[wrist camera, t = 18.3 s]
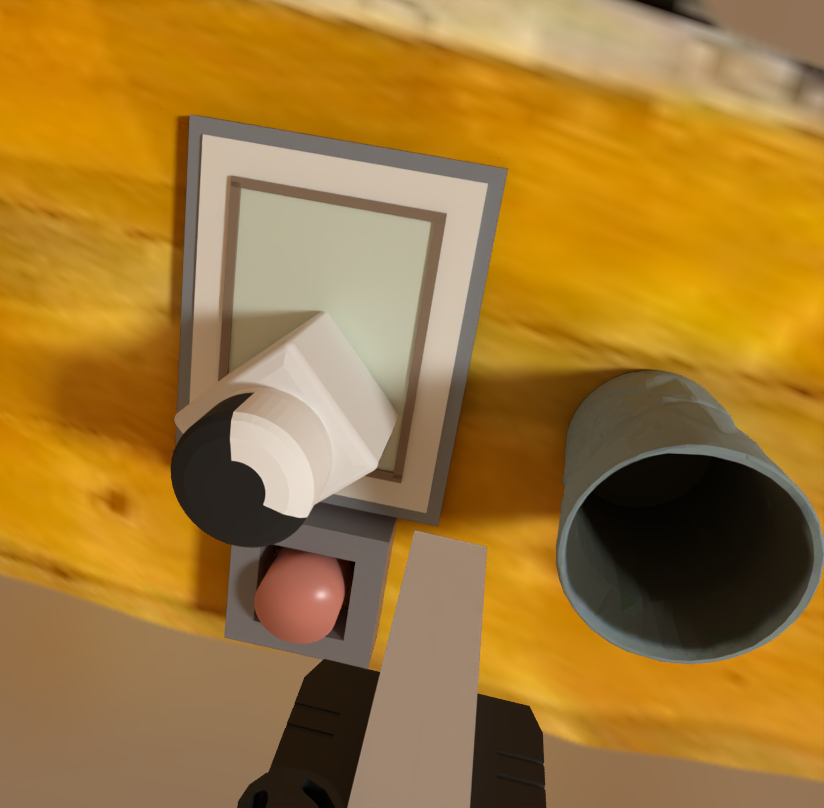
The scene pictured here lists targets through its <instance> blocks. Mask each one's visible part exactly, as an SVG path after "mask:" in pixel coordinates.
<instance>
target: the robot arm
mask: <svg viewBox="0 0 824 808" xmlns="http://www.w3.org/2000/svg"><path fill="white" fill-rule="evenodd" d="M486 554H487V547H486V546H481V545H477V544H472V543H468V542H464V541H459V540H455V539H451V538H446V537H442V536H438V535H433V534H429V533H425V532H420V531H416V530H415V532H414V536H413V540H412V545H411V549H410V553H409V557H408V561H407V565H406V569H405V573H404V577H403V581H402V586H401V590H400V594H399V598H398V602H397V606H396V610H395V614H394V618H393V622H392V627H391V631H390V635H389V639H388V643H387V647H386V651H385V655H384V659H383V663H382V668H381V672H378V671H373V670H369V669H365V668H361V667H357V666H353V665H349V664H344V663H340V662H336V661H332V660H328V659H324V660H322V661H321V662H320V663H319V664H318V665H317V666H316V667H315V668H314V669H313V670H312V671H311V672H310V673H309V674H307V675H306V676H305V677H304V680H303V683H302V685H301V688H300V691H299V693H298V696H297V698H296V701H295V705H294V707H293V709H292V712H291V714H290V717H289V719H288V722H287V726H286V728H285V730H284V733H283V736H282V738H281V741H280V743H279V746H278V749H277V751H276V754H275V757H274V759H273V762H272V765H271V767H270V770H269V772H268V773H265V774H264V775H263V776H261V777H260V778H258V779H257V780H255V781H254V782H253V783H251V784H250V785H249V786H248V787H247V789H246V790H245V792H244V794H243V795H242V797H241V798H240V799H239V801H238V807H237V808H546V794H545V790H544V786H545V772H544V766H543V763H544V753H543V733H542V731H541V729H540V727H539V725H538V722H537V720H536V718H535V716H534V714H533V712H532V710H531V708H530V706H527V705H523V704H519V703H515V702H510V701H506V700H502V699H498V698H494V697H490V696H486V695H481V694H477V691H478V676H479V661H480V645H481V630H482V615H483V599H484V584H485V569H486Z"/></svg>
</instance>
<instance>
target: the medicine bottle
mask: <svg viewBox="0 0 824 808" xmlns="http://www.w3.org/2000/svg"><path fill="white" fill-rule="evenodd" d="M398 417H399V416H398V414H397V412H396V410H395V409H394V407H393V406H392V405H391V403H390V402H389V400H388V399H387V397H386V396H385V394H384V393H383V392H382V390H381V389H380V387H379V386H378V384H377V383H376V381H375V380H374V378H373V377H372V376H371V374H370V373H369V371H368V370H367V368H366V367H365V365H364V364H363V363H362V361H361V360H360V358H359V357H358V355H357V354H356V352H355V351H354V350H353V348H352V347H351V345H350V344H349V342H348V341H347V339H346V338H345V337H344V335H343V334H342V332H341V331H340V329H339V328H338V326H337V325H336V323H335V322H334V321H333V319H332V318H331V316H330V315H329V314H328V313H327V312H320V313H318V314H317V315H315V316H314V317H313V318H311V319H310V320H308V321H307V322H305V323H304V324H302V325H301V326H299V327H298V328H296V329H295V330H293V331H292V332H290V333H289V334H287V335H286V336H284V337H283V338H281V339H280V340H278V341H277V342H275V343H274V344H272V345H271V346H269V347H268V348H266V349H265V350H263V351H262V352H260V353H259V354H257V355H256V356H254V357H253V358H251V359H250V360H249V361H247V362H246V363H244V364H243V365H241V366H240V367H238V368H237V369H235V370H234V371H232V372H231V373H229V374H228V375H226V376H225V377H224V378H222V379H221V380H220V381H219V382H217V383H216V384H215V385H213V386H212V387H211V388H209V389H208V390H207V391H205V392H204V393H203V394H202V395H200V396H199V397H198V398H196V399H195V400H194V401H192V402H191V403H190V404H189V405H187V406H186V407H185V408H183V409H182V410H181V411H179V412H178V413H177V414H176V415H175V417H174V422H175V424H176V425H177V427H178V428H179V429H180V431H181V432H182V433H183V435H182V436H181V438H180V439H179V441H178V443H177V445H176V447H175V449H174V452H173V456H172V461H171V480H172V485H173V489H174V492H175V495H176V498H177V500H178V502H179V504H180V506H181V507H182V509H183V510H184V512H185V513H186V515H187V516H188V517H189V518H190V519H191V520H192V522H194V523H195V524H196V525H197V526H198V527H199V528H200V529H201V530H203V531H204V532H205V533H207V534H208V535H210V536H212V537H214V538H215V539H217V540H220V541H222V542H224V543H227V544H231V545H234V546H240V547H249V548H256V547H265V546H269V545H273V544H276V543H279V542H281V541H283V540H285V539H286V538H288V537H290V536H291V535H292V534H294V533H295V532H296V531H297V530H298V529H299V528H300V527H301V526H302V524H303V523H304V521H305V520H306V518H307V517H308V515H309V513H310V511H311V510H312V508H313V506H314V505H315V504H317V503H318V502H320V501H322V500H324V499H325V498H327V497H329V496H331V495H332V494H334V493H336V492H337V491H339V490H341V489H343V488H344V487H346V486H348V485H350V484H351V483H353V482H355V481H356V480H358V479H360V478H362V477H363V476H365V475H367V474H369V473H370V472H372V471H374V470H375V469H376V468H377V467H378V464H379V462H380V460H381V458H382V455H383V453H384V451H385V448H386V446H387V444H388V442H389V439H390V437H391V435H392V432H393V430H394V428H395V426H396V423H397V421H398Z"/></svg>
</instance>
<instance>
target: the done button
mask: <svg viewBox="0 0 824 808" xmlns="http://www.w3.org/2000/svg"><path fill="white" fill-rule="evenodd" d="M351 578H352V569H351V565H350V562H349V560H344V559H340V558H335V557H330V556H326V555H321V554H316V553H312V552H307V551H302V550H297V549H293V548H288V547H282V548H281V549H280V551H279V553H278V554H277V556H276V558H275V560H274V561H273V563H272V565H271V567H270V568H269V570H268V572H267V574H266V575H265V577H264V579H263V580H262V582H261V584H260V586H259V587H258V589H257V591H256V594H255V599H254V606H255V611H256V614H257V616H258V619H259V620H260V622H261V623H262V625H263V626H264V627H265V628H266V629H267V630H268V631H269V632H270V633H271V634H273V635H274V636H276V637H278V638H280V639H282V640H284V641H287V642H290V643H296V644H308V643H313V642H316V641H318V640H321V639H322V638H324V637H325V636H326V635H328V634H329V633H330V631H331V630H332V628H333V627H334V625H335V622H336V619H337V617H338V614H339V611H340V609H341V606H342V603H343V601H344V598H345V595H346V593H347V590H348V587H349V585H350V582H351Z"/></svg>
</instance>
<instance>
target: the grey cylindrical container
mask: <svg viewBox="0 0 824 808" xmlns="http://www.w3.org/2000/svg"><path fill="white" fill-rule="evenodd" d="M563 475H564V478H563V485H564V486H565V487H564V496H563V499H562V501H561V512H560V515H561V516H560V521H559V529H558V537H557V543H556V566H557V570H558V575H559V580H560V583H561V585H562V588H563V591H564V593H565V595H566V597H567V598H568V600H569V602H570V604H571V605H572V607H573V608H574V610H575V611H576V613H577V614H578V615H579V616H580V617H581V618H582V620H583V621H584V622H585V623H586V624H587V625H588V626H589V628H590V629H592V630H593V631H594V632H596V633H597V634H598V635H600V636H601V637H603V638H604V639H605V640H607V641H608V642H609V643H611V644H613V645H615V646H617V647H619V648H621V649H623V650H625V651H628V652H631V653H634V654H638V655H641V656H644V657H648V658H651V659H654V660H658V661H661V662H672V663H683V664H696V663H710V662H715V661H720V660H725V659H730V658H733V657H736V656H739V655H742V654H745V653H747V652H750V651H752V650H754V649H756V648H758V647H760V646H762V645H764V644H766V643H768V642H769V641H771V640H772V639H774V638H776V637H777V636H779V635H780V634H781V633H782V632H783V631H784V630H785V629H787V628H788V627H789V626H790V625H791V624H792V623H793V622H794V621H795V620H796V619H797V618H798V617H799V616H800V615H801V613H802V612H803V611H804V610H805V608H806V607H807V605H808V604H809V602H810V600H811V598H812V597H813V595H814V593H815V591H816V589H817V587H818V585H819V582H820V579H821V575H822V569H823V564H824V537H823V533H822V530H821V526H820V522H819V519H818V517H817V515H816V513H815V511H814V509H813V507H812V505H811V503H810V501H809V500H808V499H807V497H806V496H805V494H804V493H803V492H802V491H801V490H800V489H799V488H798V487H797V485H796V484H795V483H794V482H793V481H792V480H791V479H790V478H789V477H788V476H787V475H786V474H785V473H784V472H783V471H782V470H781V469H780V468H779V467H778V466H777V465H776V464H775V463H774V462H773V461H772V460H771V459H770V458H769V457H767V456H766V455H765V453H764V452H763V451H762V449H761V448H760V447H759V445H758V444H757V443H756V442H755V441H753V440H752V439H750V438H749V436H748V435H746V434H745V433H743V432H742V431H740V430H739V429H738V428H737V427H736V426H735V424H734V421H733V419H732V417H731V416H730V414H729V413H728V412H727V411H726V410H725V409H724V408H723V407H722V406H721V405H720V404H719V403H718V402H717V401H716V400H715V399H714V398H713V397H712V395H711V394H710V393H709V392H708V391H707V390H705V389H704V388H703V387H701V386H700V385H698V384H697V383H695V382H694V381H692V380H690V379H688V378H686V377H683V376H681V375H677V374H674V373H670V372H663V371H639V372H631V373H627V374H623V375H621V376H618V377H616V378H613V379H611V380H609V381H608V382H606V383H604V384H602V385H601V386H599V387H598V388H597V389H595V390H594V391H593V392H592V393H591V394H590V395H588V396H587V397H586V398H585V400H584V401H583V402H582V403H581V405H580V406H579V408H578V409H577V411H576V412H575V413H574V416H573V418H572V420H571V423H570V425H569V428H568V433H567V437H566V446H565V469H564V473H563Z"/></svg>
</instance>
